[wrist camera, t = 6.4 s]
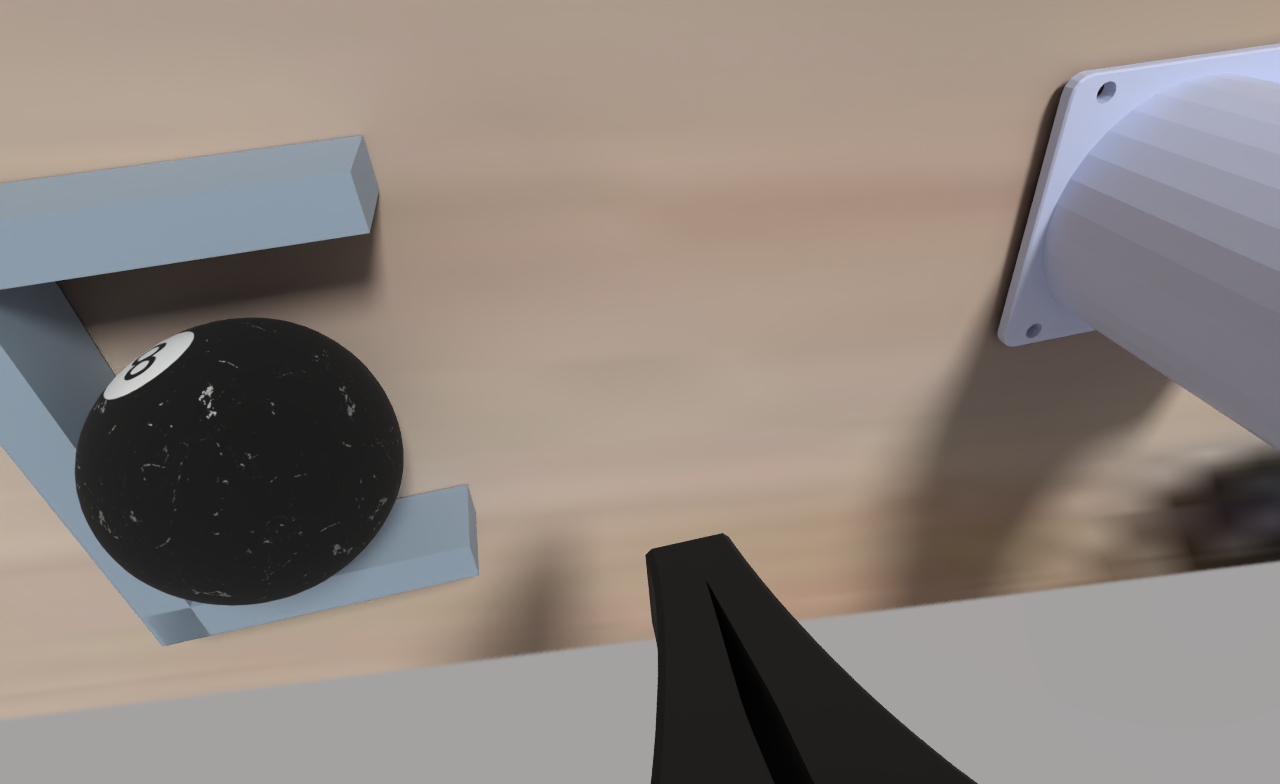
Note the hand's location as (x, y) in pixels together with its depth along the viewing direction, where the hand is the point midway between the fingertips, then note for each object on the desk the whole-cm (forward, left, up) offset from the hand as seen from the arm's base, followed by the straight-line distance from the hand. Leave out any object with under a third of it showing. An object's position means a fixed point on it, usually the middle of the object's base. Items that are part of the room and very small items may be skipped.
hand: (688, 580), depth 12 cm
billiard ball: (+8, 0, -9) cm, 12 cm away
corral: (+9, 0, -9) cm, 12 cm away
